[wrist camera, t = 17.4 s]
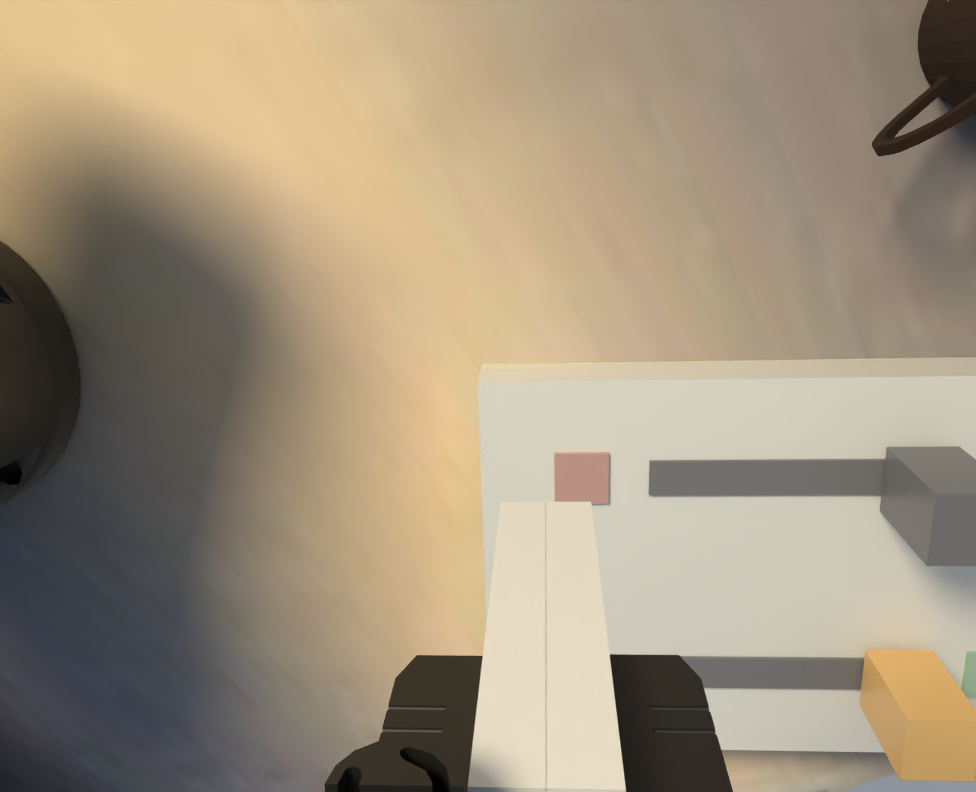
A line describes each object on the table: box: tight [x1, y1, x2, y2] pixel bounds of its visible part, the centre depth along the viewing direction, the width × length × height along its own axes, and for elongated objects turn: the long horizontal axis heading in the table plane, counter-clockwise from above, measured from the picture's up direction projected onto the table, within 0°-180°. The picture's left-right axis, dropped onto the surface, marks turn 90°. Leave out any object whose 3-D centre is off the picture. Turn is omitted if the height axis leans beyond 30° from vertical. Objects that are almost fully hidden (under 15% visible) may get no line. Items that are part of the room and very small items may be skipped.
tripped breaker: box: [859, 650, 976, 782], centre depth 39 cm, size 3×3×5 cm
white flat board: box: [478, 357, 976, 752], centre depth 42 cm, size 28×19×3 cm
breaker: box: [880, 446, 976, 566], centre depth 36 cm, size 3×3×5 cm
